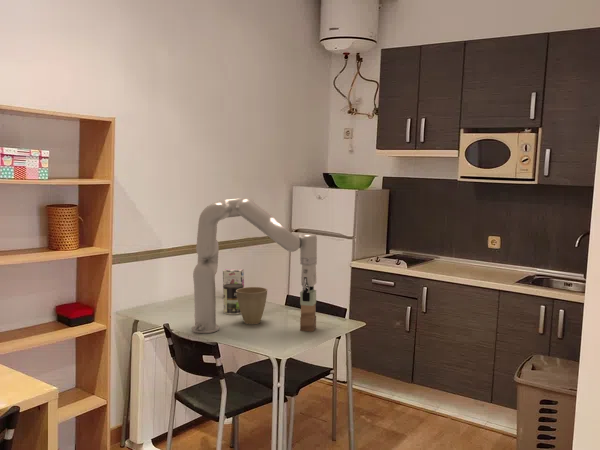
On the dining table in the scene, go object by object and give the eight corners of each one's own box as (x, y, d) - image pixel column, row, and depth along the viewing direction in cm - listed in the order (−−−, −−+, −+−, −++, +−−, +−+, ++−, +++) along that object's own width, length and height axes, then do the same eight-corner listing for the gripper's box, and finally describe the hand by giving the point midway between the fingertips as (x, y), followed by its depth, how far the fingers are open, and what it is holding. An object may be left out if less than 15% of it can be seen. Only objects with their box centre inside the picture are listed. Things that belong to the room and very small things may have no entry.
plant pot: (265, 317, 293) (265, 286, 292) (269, 325, 279) (269, 292, 277) (235, 319, 291) (235, 287, 289) (237, 327, 276) (237, 293, 275)
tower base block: (312, 331, 269) (312, 318, 269) (300, 330, 271) (300, 317, 270) (316, 328, 275) (316, 315, 275) (303, 327, 277) (303, 314, 276)
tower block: (314, 318, 269) (314, 305, 269) (300, 318, 270) (300, 305, 269) (315, 315, 275) (315, 302, 274) (302, 314, 276) (302, 302, 275)
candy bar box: (244, 297, 338) (244, 269, 336) (242, 299, 333) (241, 270, 331) (225, 296, 340) (225, 268, 338) (222, 298, 335) (222, 270, 333)
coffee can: (247, 311, 305) (247, 284, 304) (233, 315, 297) (233, 288, 296) (233, 308, 312) (232, 282, 310) (219, 312, 303) (218, 285, 302)
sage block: (313, 305, 268) (313, 292, 268) (300, 304, 270) (300, 292, 269) (316, 302, 274) (316, 290, 273) (303, 302, 276) (303, 289, 275)
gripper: (311, 264, 261) (311, 304, 262) (320, 258, 277) (320, 295, 279) (295, 263, 263) (295, 303, 264) (305, 257, 279) (305, 294, 281)
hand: (308, 299), depth 272 cm, fingers open, 7 cm apart
